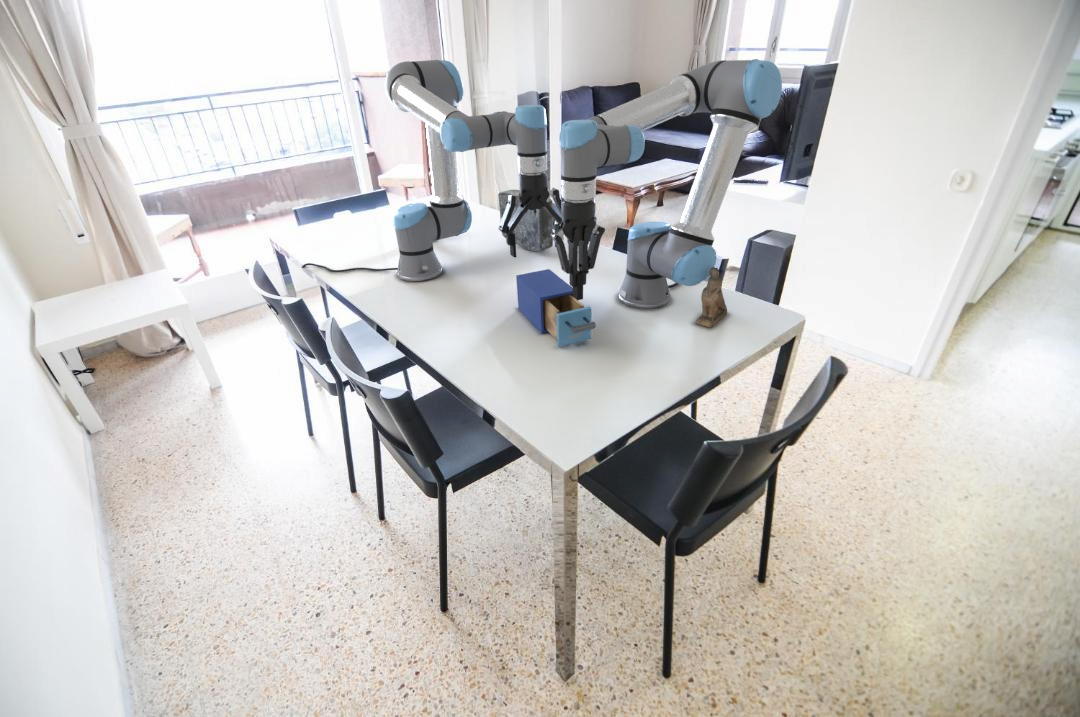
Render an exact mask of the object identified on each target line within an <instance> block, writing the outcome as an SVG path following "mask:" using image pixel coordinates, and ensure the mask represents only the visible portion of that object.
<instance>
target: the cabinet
mask: <svg viewBox="0 0 1080 717" xmlns="http://www.w3.org/2000/svg"><path fill="white" fill-rule="evenodd" d="M515 278H516V294H517V309H518V311H519V312H520V313H522V315H523V316H524V317H525V318H526V319H527V320H528V321H529V322H530V324H532V326H534V327H535V328H536V330H537V331H538V332H539V333H540V334H546V333H549V331H548V330H547V329H546V328H545V327H544V313H543V300H545V299H550V298H555V297H559V296H564V295H569V294H571V295H572V296H573V287H572V286H571V285H570V283H568V282H566V281H565V280H564V279H562V278H561V277H560V276H558V275H557V274H556V273H555V272H554V271H552V270H551V269H549V268H548V269H542V270H537V271H532V272H526V273H520V274H516V277H515Z"/></svg>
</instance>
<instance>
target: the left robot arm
mask: <svg viewBox="0 0 1080 717" xmlns="http://www.w3.org/2000/svg"><path fill="white" fill-rule="evenodd" d="M384 91H385V94H386V96H387V98H388V100H389V102H390V103H391V104H392V105H393V106H394V107H395V108H397V109H398V110H400V111H401V112H404V113H410V114H411V115H413V116H414V117H416V119H419V120H420V121H421V122H423V123H424V124H425V128H426V139H427V148H428V158H429V165H430V166H429V168H430V174H431V185H432V195H430V196H429V205H427V204H426V203H424V202H415V203H408V204H406V205H402V206H401V207H399V208H397V209H395V211H394V213H393V215H392V219H393V228H394V230H395V231H394V232H395V236H396V241H397V247H398V251H399V259H398V265H397V267H387V268H372V267H351V268H344V269H331V268H329V267H327V266H325V265H322V264H316V263H312V262H307V263H304V264H303V265H302V266H301V269H304V268H305V267H307V266H313V267H317V268H322V269H325V270H327V271H328V272H332V273H344V272H350V271H359V270H360V271H361V270H362V271H363V270H364V271H372V272H387V271H397V276H398V278H399V279H400V280H402V281H406V282H413V283H414V282H425V281H429V280H432V279H435V278H438V277H439V276H440V275H441V274H442V273H443V268H442V264H441V263H440V260H439V259H438V256H437V254H436V252H435V250H434V243H433V242H436V241H440V240H444V239H450V238H452V237H458V236H461V235H463V234H466V233H467V232H468V231H469V230H470V228H471V225H472V221H473V220H472V219H473V215H472V209H470V208H471V207H470V204H469V203H468V201H467V200H465V198H464V196H463V194H461V193H460V192H459V178H458V177H459V176H458V166H457V152H460V153H464V152H468V151H474V150H479V149H486V148H493V147H498V146H506V145H510V146H512V145H513V146H516V151H517V154H516V155H517V170H518V173H519V174H518V188H519V189H518V190H520V192H519V195H512V194H509V195H508V204H507V206H506V209H505V212H504V214H503V217H502V220H501V219H500V222H499V225H498V227H497V228H498V230H499V232H501V234H502V233H506V238H505V241H506V244H507V245H508V246H509V251H510V254H509V255H510V256H511V257H512V258H513V259H515V258H517V244H516V241H515V233H513V231H514V229H515V228H516V226H517V225H518V223H519V221H520V220H521V218H522V217H523V215H524V214H525V213H526V212H527V211H528V210H535V209H541V208H542V207H544V208H545V210H546V211H547V212H548V213H549V214H550V215H551V216H552V217H553V221H555V222H556V223H554V233H556V232H557V231H558V230H559V229H560V225H561V222H562V217H561V216H560V215H561V201H562V198H561V193H560V190H559V189H557V188H555V187H552V188H551V189H548V188H549V179H548V178H549V177H548V173H547V171H548V130H547V127H548V123H547V122H548V121H547V113H546V108H545V107H544V106H543V105H542V104H522V105H518V106H516V107H515V109H514V112H509V111H505V110H503V111H495V112H492V113H490V114H481V115H471V116H470V115H467V114H466V113H464V112H462V111H461V110H459V109H458V104H459V103H460V102H462V100H463V97H464V84H463V80H462V77H461V74H460V72H459V70H458V69H457V67H456V65H455V64H454V63H453V62H451V61H449V60H443V59H430V60H429V59H428V60H415V61H412V60H411V61H409V60H408V61H402V62H399V63H396V64H395V65H393V66H392V67H391V68H390V69H389V71H387V74H386V76H385V81H384ZM549 197H550V198H552V201H553V203H554V205H555V206H556V209H557V210H558V212H559V214H560V215H559V214H558V213H557V212H556V210H554V208H553V209H552V208H551V206H550V205H549V204H548V203H547V199H548V198H549ZM518 200H520V201H521V204H520V205H519V207H518V210H517V211H516V213H515V214H514V216H513V217H512V219H511V220H510V218H511V216H512V213H513V210H514V208H515V204H516V203H517V201H518ZM509 221H510V222H509ZM564 236H565V235H564V234H563V237H564ZM554 247H555V248H556V244H555V243H554Z"/></svg>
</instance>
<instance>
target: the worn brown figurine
mask: <svg viewBox="0 0 1080 717" xmlns="http://www.w3.org/2000/svg"><path fill="white" fill-rule="evenodd" d="M709 273H710V274H709V278H708V279H707V280H708V281H707V284H706V286H705V287H704V288H703V290H702V292H701V297H700V298H701V309H702V312H701V315H700V316H699V317H698V318H697V319H696V321H695V324H696V325H699V326H703V327H705V328H712V327H714V326H715V325H716V324H717V323H719V321H721V320H722V319H723V318H725V317H726V316H727V315H728V307H727V304H726V301H725V298H724V293H723V290H722V287H723V281H722V279H721V278H720V270H719V268H717V267H716V268H715V266H714V267H712V268H711V269H710V270H709Z"/></svg>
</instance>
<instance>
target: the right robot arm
mask: <svg viewBox="0 0 1080 717" xmlns="http://www.w3.org/2000/svg"><path fill="white" fill-rule="evenodd" d="M782 91H783V80H782V76H781V72H780V69H779V67H778V66H777V65H776V64H775V63H774V62H772V61H771V60H765V59H764V60H761V59H758V58H753V59H741V60H740V59H737V60H736V59H734V60H733V59H732V60H729V59H728V60H726V59H725V60H724V59H722V60H715V61H711V62H708V63H706V64H702V65H701V66H698V67H695V68H693V69H691V70H688V71H686V72H684V73H681V74H679V75H677V76H675V77H674V78H673V79H672V80H671V82H670V83H669V84H667V85H665V86H662V87H660V88H658V89H655V90H654V91H653V90H652V91H651V92H648V93H646V94H644V95H641V96H639V97H636V98H634V99H631V100H629V101H628V102H625V103H622V104H620V105H618V106H616V107H613V108H611V109H609V110H607V111H604V112H602V113H599V114H597V115H594V116H592V117H589V118H586V119H572V120H567V121H565V122H563V123H562V124H561V127H560V133H559V148H560V198H561V214H560V217H561V218H562V222H561V225H560V229H559V230H558V231H557V232H556V233H555V232H553V233H552V234H551V238H552V239H553V243H554V245H555V244H556V247H555V249H556V252H557V256H558V259H559V264H560V268H561V271H563V272H564V273H566V274H567V275H569V278H568V280H569V283H568V284H569V285H570V286H571V287H572V288H573V297H574V298H575V299H576V300H578V301H583V300H584V286H585V285H586V284H587V275H588V274H589V273H590V271H589V270H593V269H594V268H595V265H596V260H597V257H598V252H599V248H600V245H601V240H602V237H603V235H604V234H605V231H606V228H605V227H603V226H602V225H599V224H598V223H597V220H596V218H595V216H596V206H597V205H596V200H595V198H596V195H597V171H598V168H602V167H609V166H616V165H623V164H624V165H627V164H629V163H633V162H636V161H638V160H639V159H641V157H642V156H643V154H644V152H645V146H646V144H645V142H646V138H645V135H644V131H646V130H649V129H651V128H653V127H655V126H657V125H659V124H662V123H664V122H667V121H668V120H671V119H673V118H676V117H677V116H679V117H688V116H690V115H693V114H697V113H710V115H709V118H710V120H711V122H712V128H711V132H710V135H709V137H708V140H707V143H706V146H705V148H704V151H703V153H702V156H701V160H700V162H699V166H698V168H697V171H696V174H695V176H694V179H693V182H692V184H691V187H690V190H689V194H688V197H687V199H686V202H685V204H684V207H683V211H682V213H681V216H680V218H679V221H678V222H676V223H675V224H673V225H671V224H670V223H669V222H667V221H645V222H640V223H636V224H634V225H632V226H631V227H630V228H629V231H628V238H627V246H626V247H627V248H626V249H627V250H626V269H625V270H626V271H625V276H624V278H623V280H622V283H621V286H620V288H619V291H618V300H619V301H620V302H621V303H622V304H623V305H624V306H627V307H630V308H633V309H640V310H654V309H659V308H662V307H664V306H666V305H667V304H669V302H670V300H671V299H670V298H671V292H670V289H672V288H674V287H677V286H678V285H682V286H684V287H685V286H686V287H693V286H697V285H699V284H700V283H702V282H704V281H705V280H706V279H707V278H708V277H710V273H709V270H710V269H711V268H712V267H715V265H716V263H717V251H716V249H715V248H714V247H713V244H714V242H715V237H714V234H713V233H712V230H713V228H714V226H715V223H716V220H717V217H718V214H719V212H720V210H721V207H722V204H723V201H724V198H725V196H726V194H727V191H728V189H729V185H730V183H731V180H732V178H733V175H734V172H735V170H736V168H737V165H738V163H739V160H740V157H741V154H742V152H743V150H744V146H745V143H746V141H747V138H748V135H749V134H750V133H752V132H754V131H755V130H757V129H758V128H759V125H760V122H761V120H762V119H765V118H767V117H769V116H771V115H772V113H774V111H775V110H776V109H777V107H778V105H779V102H780V100H781V97H782ZM563 234H564V236H565V237H566V239H567V240H566V241H567V242H566V243H567V245H568V247H567V248H568V251H567V249H566V245H565V242H564V240H565V238H564V236H563ZM567 252H568V253H567ZM668 280H670V281H672V282H674V283H673V284H669V283H668Z"/></svg>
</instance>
